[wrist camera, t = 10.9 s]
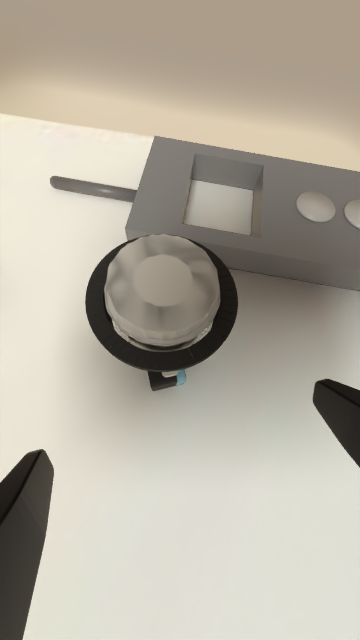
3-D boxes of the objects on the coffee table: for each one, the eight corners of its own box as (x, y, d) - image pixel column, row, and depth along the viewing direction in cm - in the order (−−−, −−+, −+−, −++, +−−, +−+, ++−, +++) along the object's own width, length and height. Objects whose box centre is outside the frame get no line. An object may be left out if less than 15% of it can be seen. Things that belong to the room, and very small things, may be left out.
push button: (117, 310, 18) (65, 196, 8) (185, 297, 18) (208, 180, 9) (131, 402, 15) (84, 384, 6) (209, 382, 16) (272, 340, 7)
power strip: (370, 200, 24) (397, 172, 21) (388, 296, 20) (425, 276, 17) (72, 148, 24) (60, 112, 21) (29, 232, 20) (7, 202, 17)
